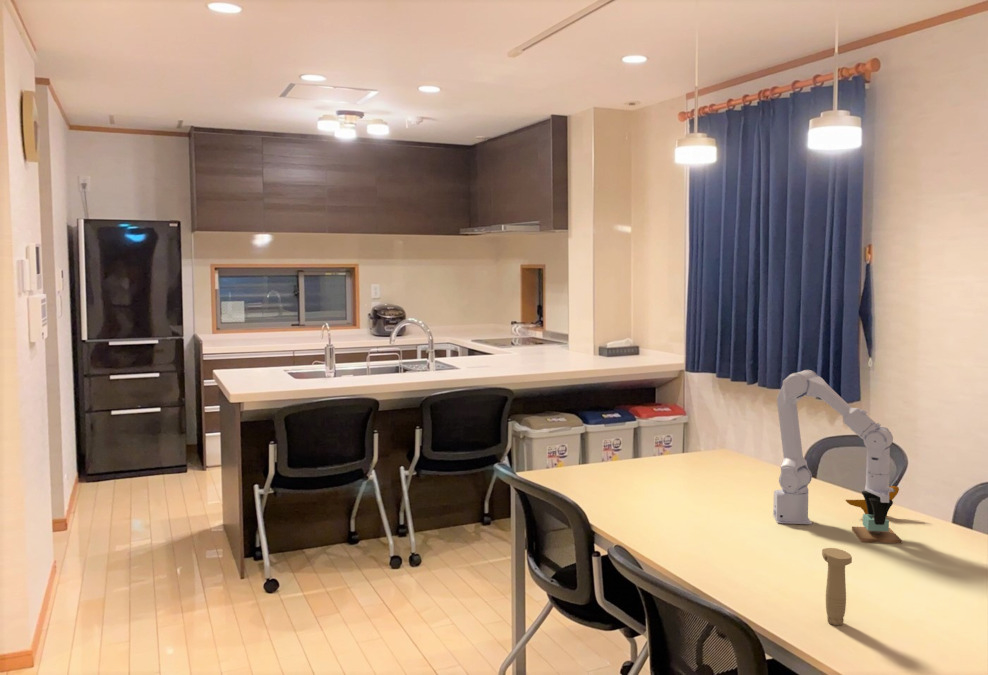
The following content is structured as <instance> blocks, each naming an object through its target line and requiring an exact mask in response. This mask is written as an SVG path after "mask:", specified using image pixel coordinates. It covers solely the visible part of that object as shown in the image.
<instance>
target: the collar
mask: <svg viewBox="0 0 988 675" xmlns="http://www.w3.org/2000/svg"><path fill="white" fill-rule="evenodd" d="M872 518H874V515H871V514H865V513H863V514H862V526H863V527H865V528H866V529H867V530H868V531H887V532H889V528H890V524H889V523H890V520H889V519H888V518H887V517H886V519H885V523H884V525H876V524H875V521H874V519H872Z"/></svg>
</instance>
